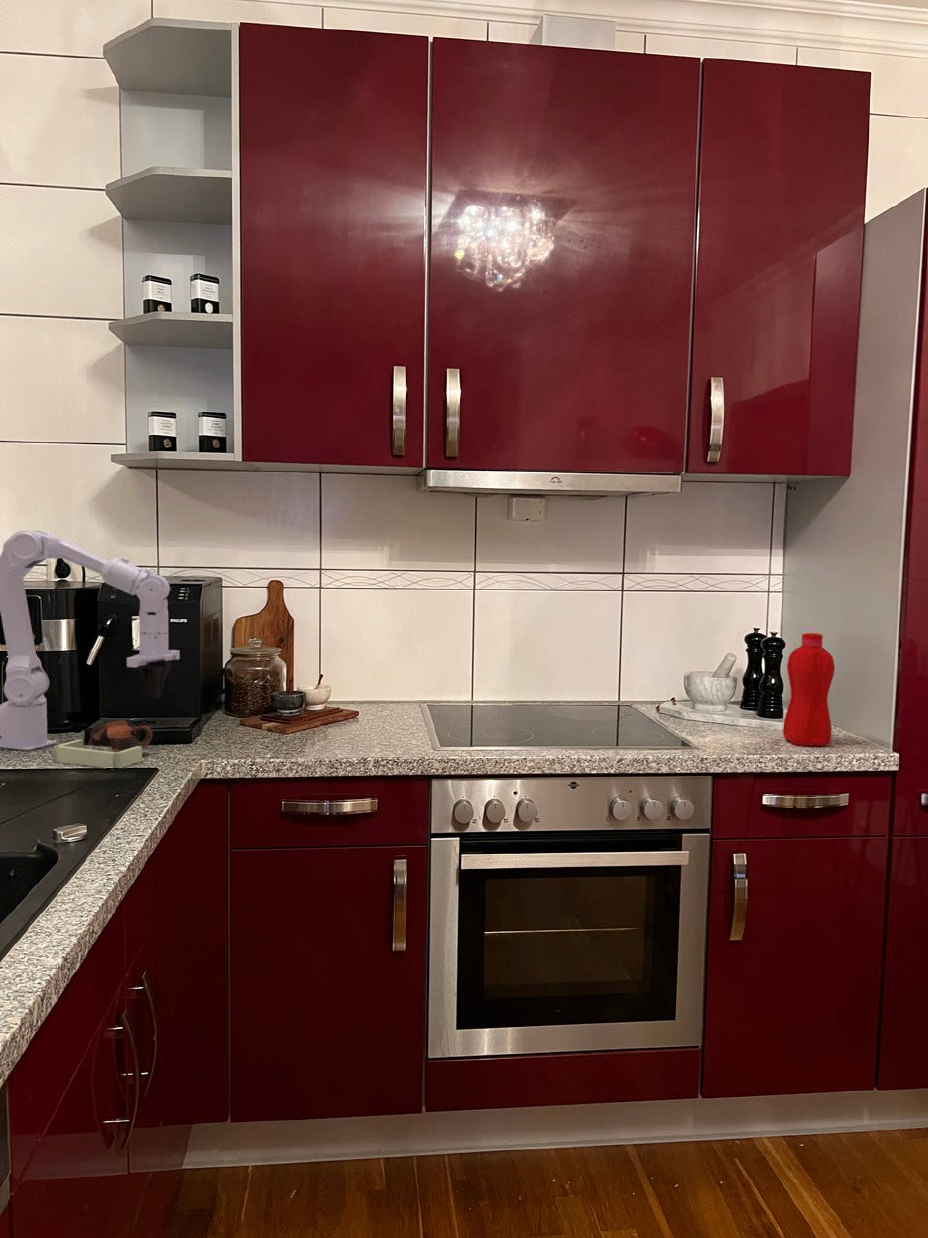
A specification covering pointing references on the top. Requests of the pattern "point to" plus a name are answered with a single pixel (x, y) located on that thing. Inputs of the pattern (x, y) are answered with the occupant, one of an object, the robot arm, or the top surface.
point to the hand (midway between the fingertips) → (154, 697)
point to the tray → (95, 755)
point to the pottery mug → (119, 736)
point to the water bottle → (809, 693)
